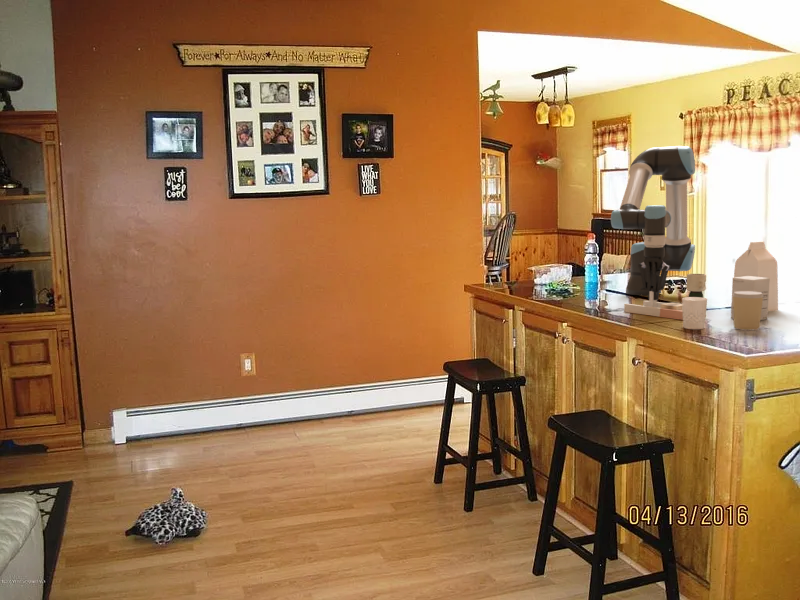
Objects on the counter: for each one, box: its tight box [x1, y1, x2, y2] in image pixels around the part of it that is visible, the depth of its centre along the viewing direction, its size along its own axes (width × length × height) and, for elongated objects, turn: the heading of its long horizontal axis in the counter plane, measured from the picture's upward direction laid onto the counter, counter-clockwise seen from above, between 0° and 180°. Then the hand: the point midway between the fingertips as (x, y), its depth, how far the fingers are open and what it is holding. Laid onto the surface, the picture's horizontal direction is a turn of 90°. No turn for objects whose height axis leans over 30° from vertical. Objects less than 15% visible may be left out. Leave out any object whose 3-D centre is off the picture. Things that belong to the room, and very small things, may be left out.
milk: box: [731, 240, 779, 312], centre depth 295 cm, size 12×12×26 cm
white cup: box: [681, 296, 708, 330], centre depth 262 cm, size 8×8×10 cm
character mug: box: [686, 273, 707, 298], centre depth 304 cm, size 11×7×13 cm, turn 5°
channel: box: [623, 300, 683, 321], centre depth 291 cm, size 26×13×3 cm, turn 36°
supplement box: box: [730, 276, 770, 321], centre depth 276 cm, size 9×9×15 cm
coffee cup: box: [733, 291, 763, 331], centre depth 259 cm, size 9×9×12 cm
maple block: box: [661, 301, 682, 311], centre depth 287 cm, size 7×7×4 cm
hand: (652, 307), depth 296 cm, fingers closed
